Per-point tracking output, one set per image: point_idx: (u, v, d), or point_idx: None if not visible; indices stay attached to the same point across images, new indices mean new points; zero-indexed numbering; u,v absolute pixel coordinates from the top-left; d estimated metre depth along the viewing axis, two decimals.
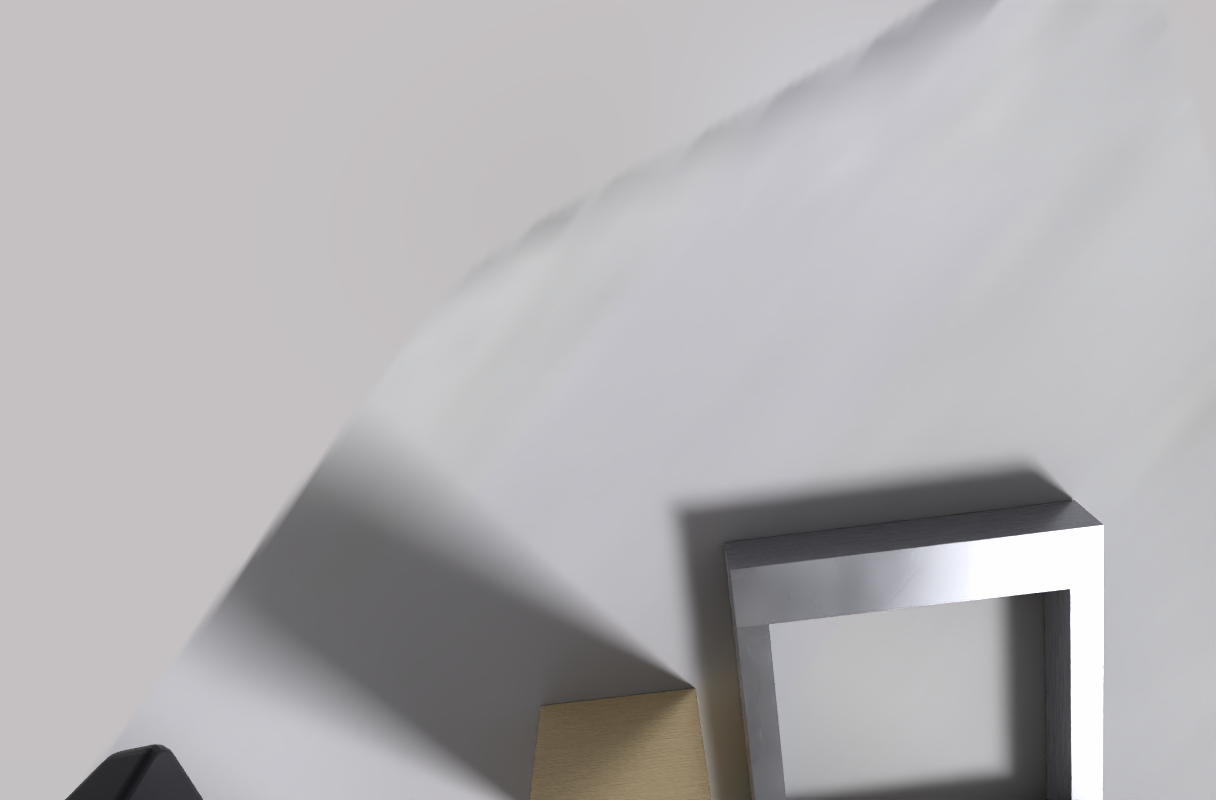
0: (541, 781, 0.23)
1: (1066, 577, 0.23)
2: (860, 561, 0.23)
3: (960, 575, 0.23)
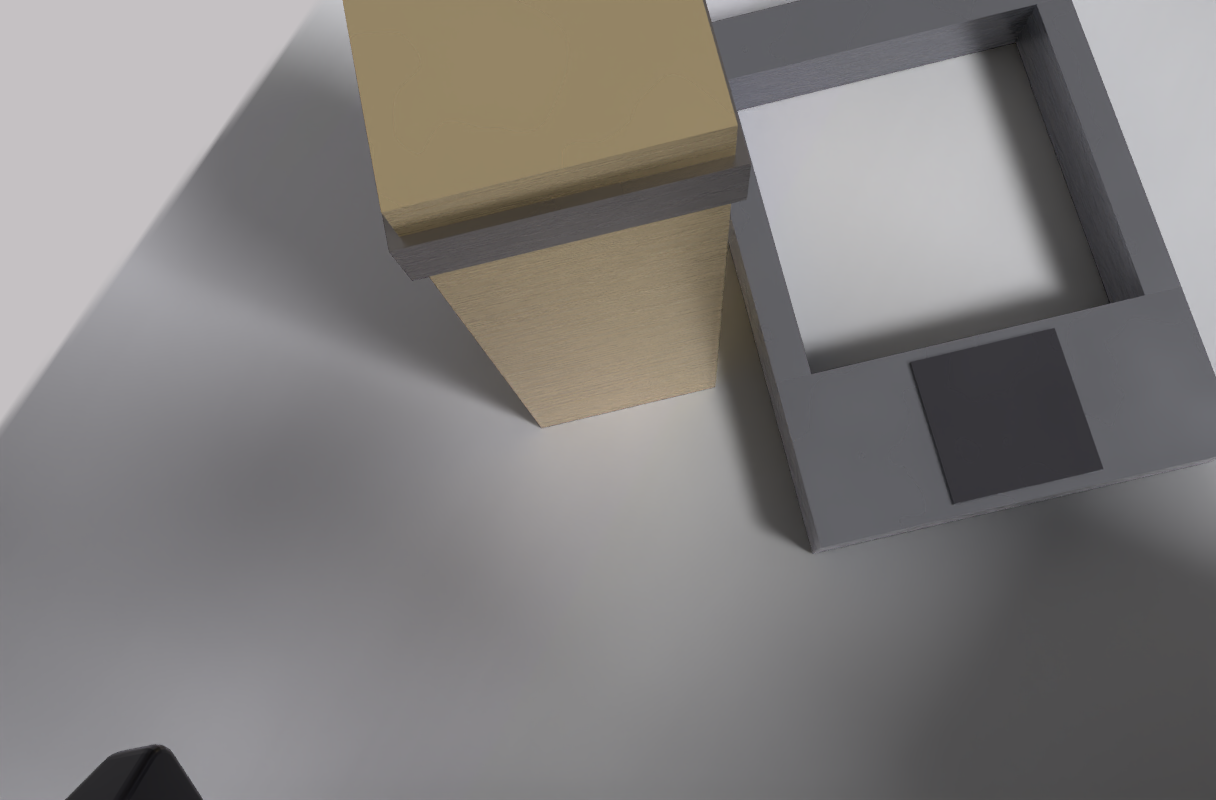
0: None
1: None
2: (810, 5, 0.23)
3: (917, 6, 0.23)
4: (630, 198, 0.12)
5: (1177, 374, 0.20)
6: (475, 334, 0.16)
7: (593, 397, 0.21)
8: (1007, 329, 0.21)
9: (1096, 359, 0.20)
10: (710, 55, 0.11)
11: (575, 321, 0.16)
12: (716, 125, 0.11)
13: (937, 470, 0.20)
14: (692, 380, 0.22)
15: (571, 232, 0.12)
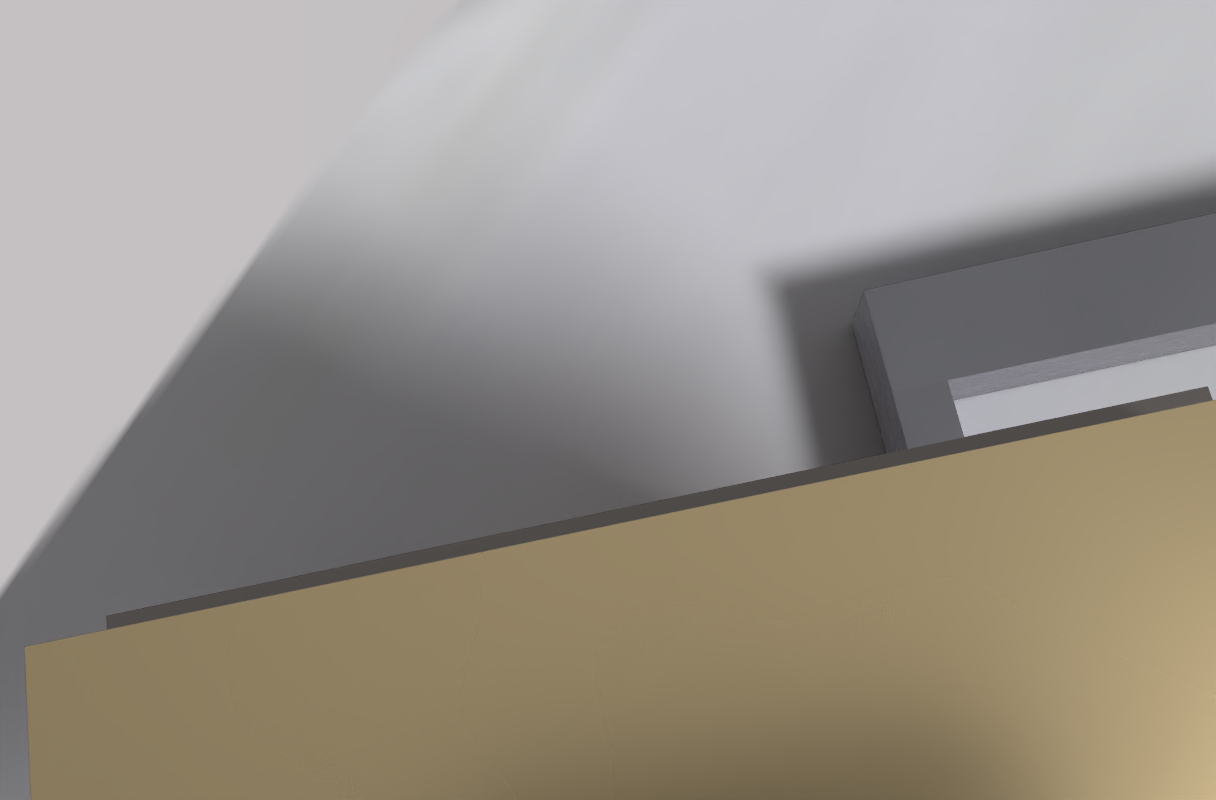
0: None
1: None
2: (1083, 255, 0.14)
3: None
4: None
5: None
6: None
7: None
8: None
9: None
10: None
11: None
12: None
13: None
14: None
15: None
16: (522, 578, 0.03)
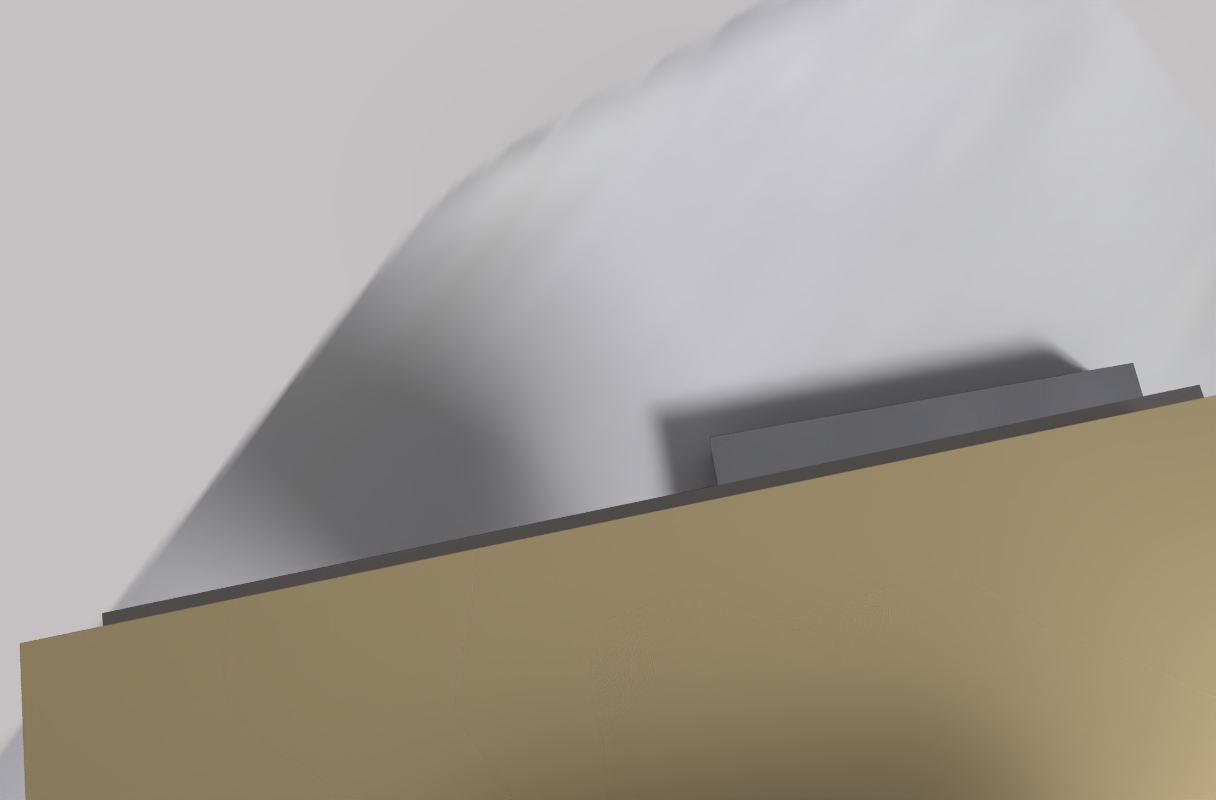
0: None
1: None
2: (857, 420, 0.20)
3: None
4: None
5: None
6: None
7: None
8: None
9: None
10: None
11: None
12: None
13: None
14: None
15: None
16: (515, 575, 0.03)
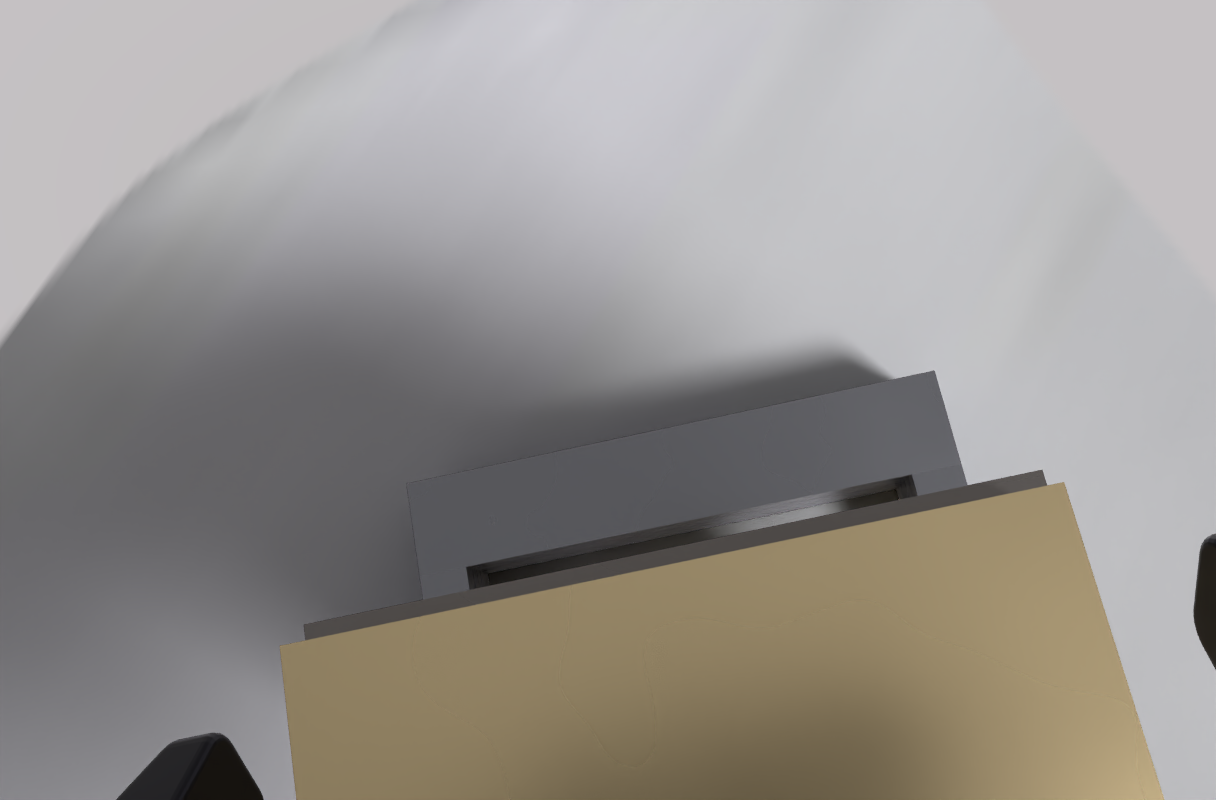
0: None
1: (901, 457, 0.15)
2: (589, 456, 0.16)
3: (740, 467, 0.16)
4: None
5: None
6: None
7: None
8: None
9: None
10: None
11: None
12: None
13: None
14: None
15: None
16: (597, 601, 0.05)
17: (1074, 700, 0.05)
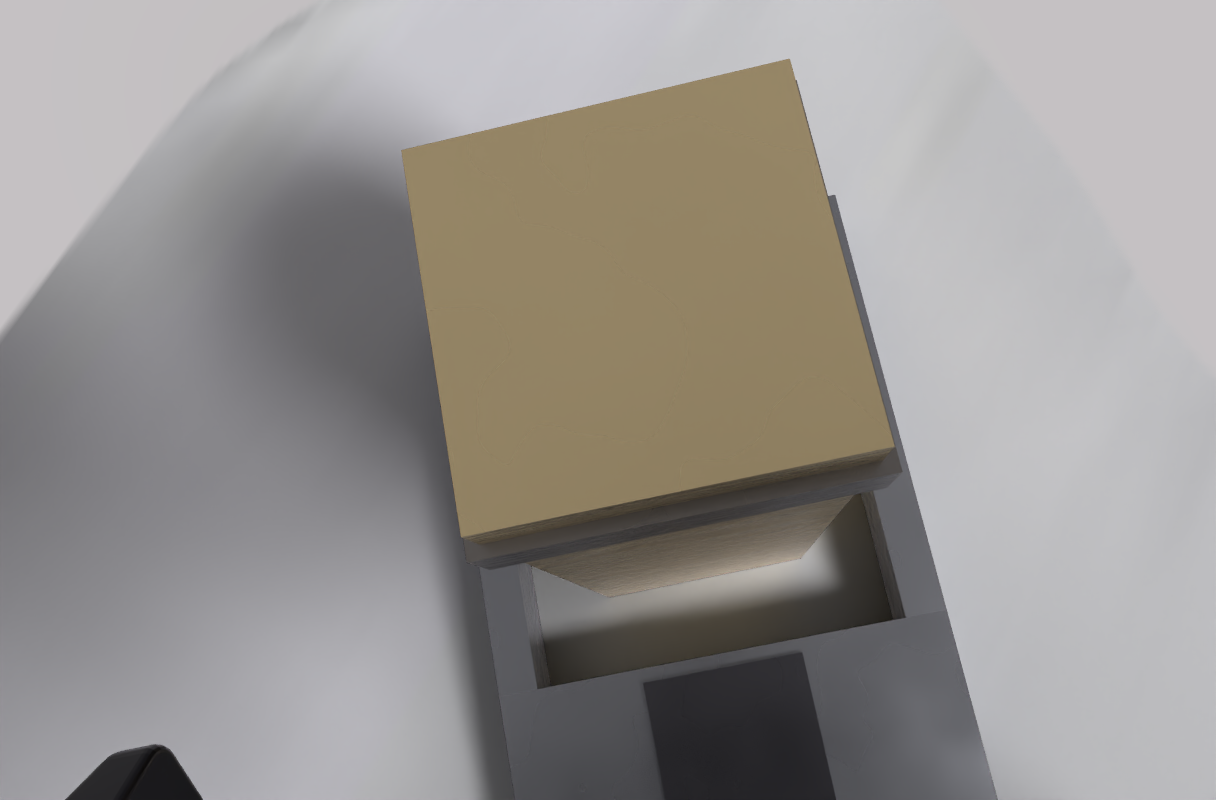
0: None
1: None
2: None
3: None
4: (754, 504, 0.10)
5: (934, 714, 0.18)
6: (552, 571, 0.14)
7: (669, 579, 0.19)
8: (752, 649, 0.19)
9: (846, 691, 0.18)
10: (860, 355, 0.09)
11: (664, 552, 0.14)
12: (867, 444, 0.09)
13: None
14: (778, 559, 0.20)
15: (679, 527, 0.10)
16: (560, 121, 0.10)
17: (788, 154, 0.10)
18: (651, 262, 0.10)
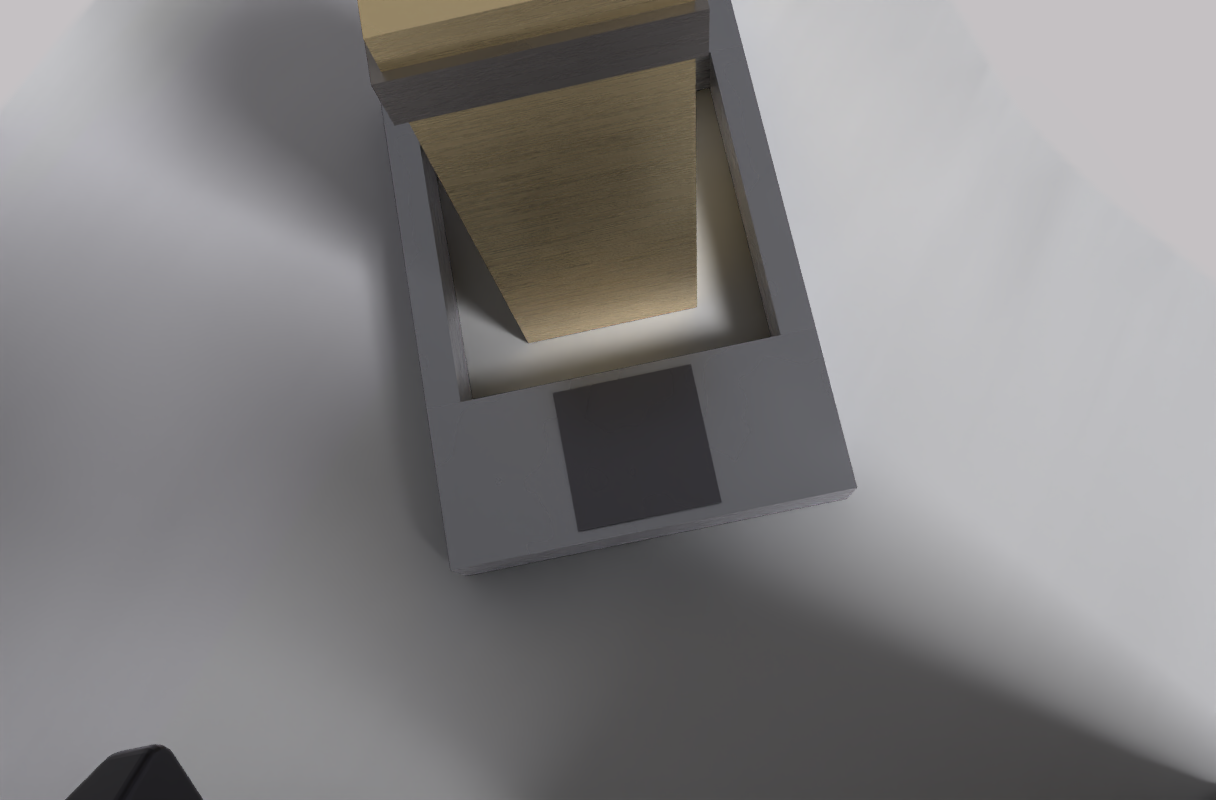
0: None
1: None
2: None
3: None
4: (597, 41, 0.13)
5: (802, 412, 0.21)
6: (458, 208, 0.16)
7: (577, 307, 0.22)
8: (648, 364, 0.22)
9: (728, 395, 0.21)
10: None
11: (554, 200, 0.17)
12: None
13: (567, 498, 0.21)
14: (673, 295, 0.22)
15: (543, 79, 0.13)
16: None
17: None
18: None
